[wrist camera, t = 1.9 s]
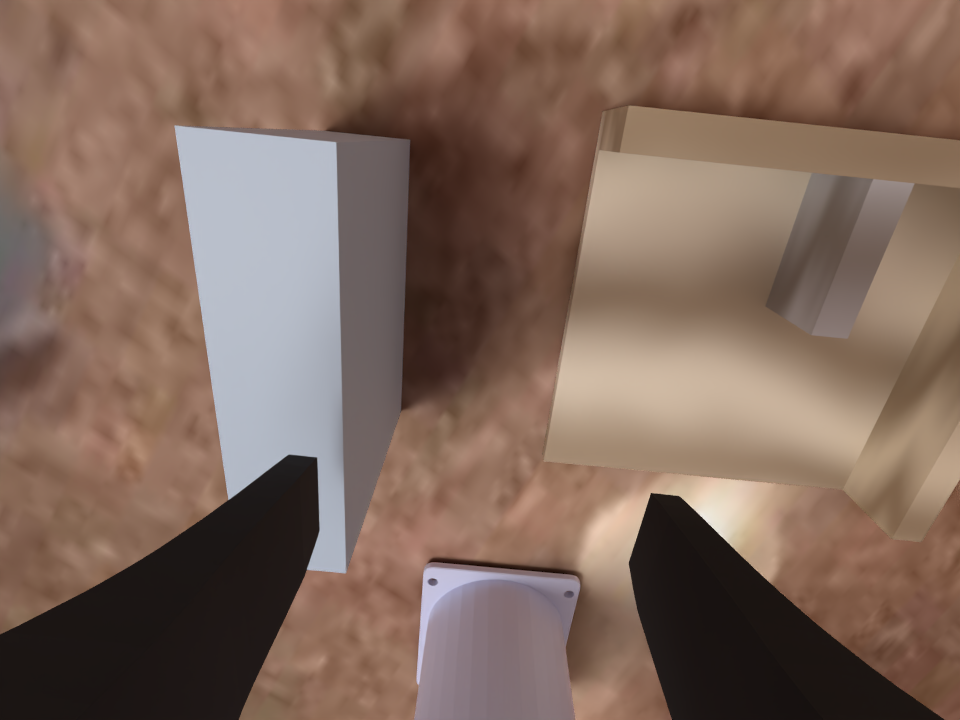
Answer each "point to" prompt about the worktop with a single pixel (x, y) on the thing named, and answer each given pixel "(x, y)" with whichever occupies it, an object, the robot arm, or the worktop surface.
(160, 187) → the worktop surface
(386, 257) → the book
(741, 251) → the book rack
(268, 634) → the robot arm
